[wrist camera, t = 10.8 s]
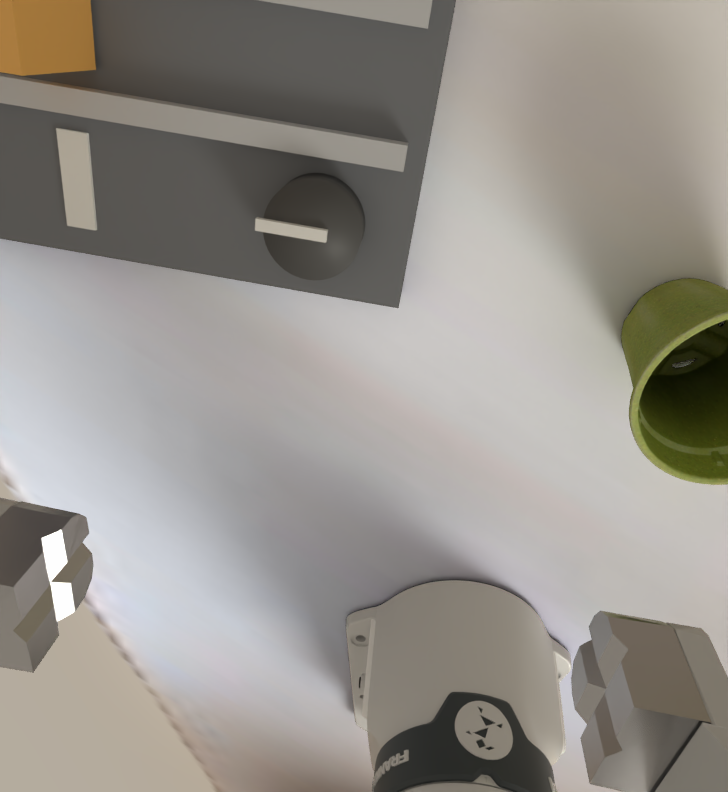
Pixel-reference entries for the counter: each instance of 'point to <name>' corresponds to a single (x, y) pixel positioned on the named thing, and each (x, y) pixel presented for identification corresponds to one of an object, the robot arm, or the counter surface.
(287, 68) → the console board
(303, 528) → the counter surface
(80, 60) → the fader knob
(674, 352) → the plant pot
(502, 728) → the robot arm
